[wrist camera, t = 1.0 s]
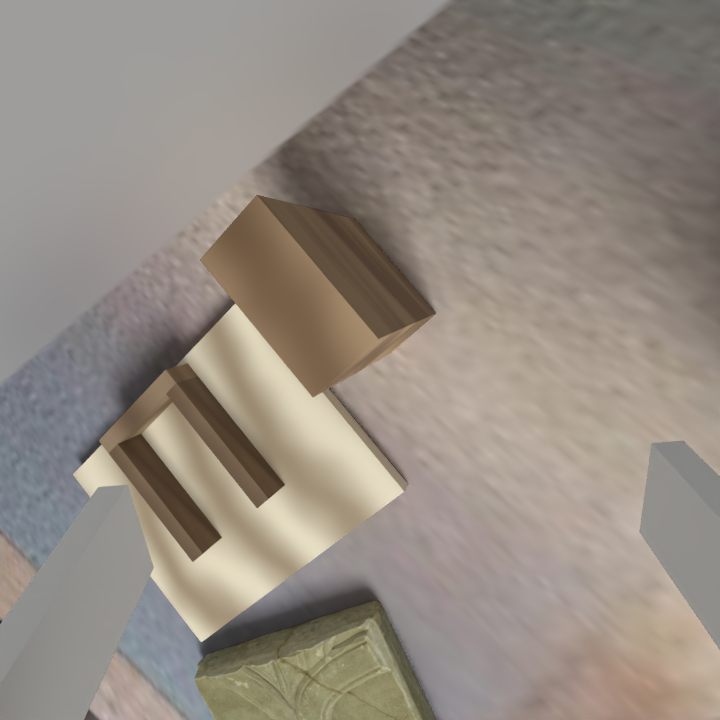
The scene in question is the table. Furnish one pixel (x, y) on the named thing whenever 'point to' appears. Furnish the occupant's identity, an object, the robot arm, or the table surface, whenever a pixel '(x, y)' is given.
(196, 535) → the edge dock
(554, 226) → the table surface
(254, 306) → the brown rectangular block
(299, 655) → the decorative tile
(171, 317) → the table surface
